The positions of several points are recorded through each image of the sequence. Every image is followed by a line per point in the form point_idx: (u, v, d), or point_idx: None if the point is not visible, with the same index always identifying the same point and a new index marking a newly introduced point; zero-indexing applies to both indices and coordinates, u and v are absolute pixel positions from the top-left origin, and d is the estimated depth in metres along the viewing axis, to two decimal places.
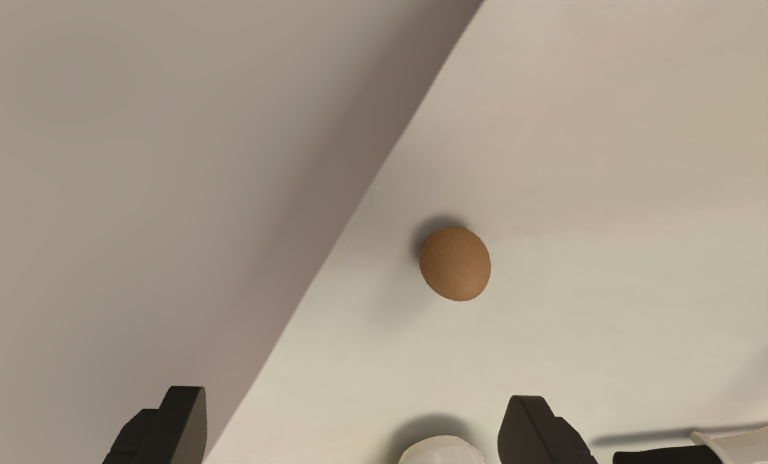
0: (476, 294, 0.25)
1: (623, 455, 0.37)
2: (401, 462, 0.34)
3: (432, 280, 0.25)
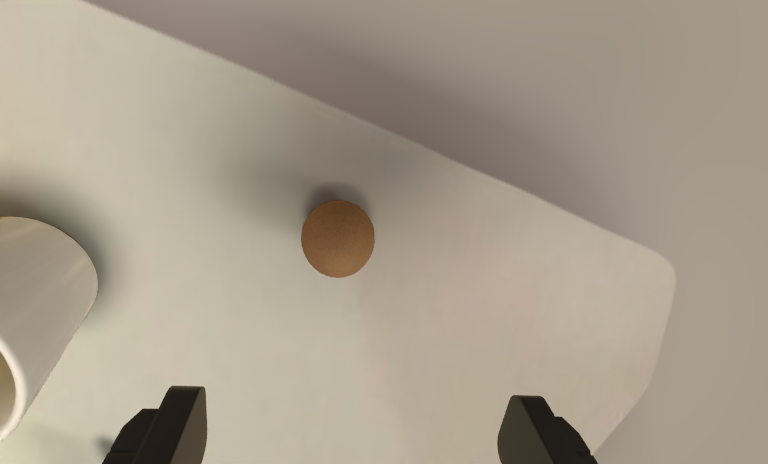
0: (329, 271, 0.23)
1: None
2: (40, 221, 0.25)
3: (327, 221, 0.23)
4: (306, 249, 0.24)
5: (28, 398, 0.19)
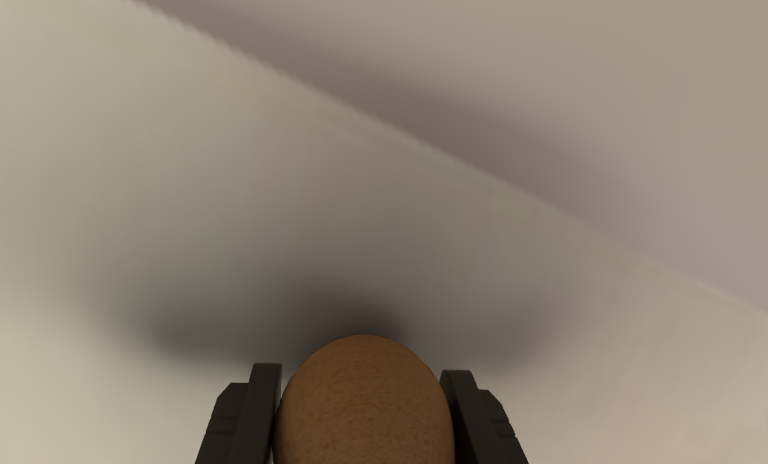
0: None
1: None
2: None
3: (343, 440, 0.08)
4: None
5: None
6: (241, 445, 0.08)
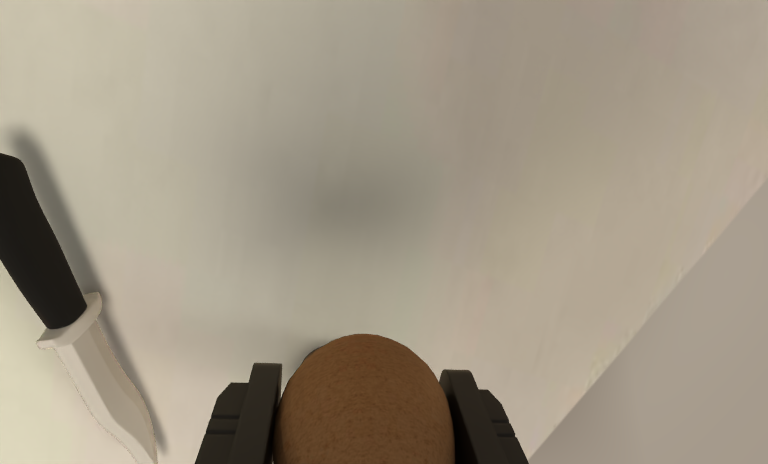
0: None
1: (21, 169, 0.21)
2: None
3: (343, 440, 0.08)
4: None
5: None
6: (241, 445, 0.08)
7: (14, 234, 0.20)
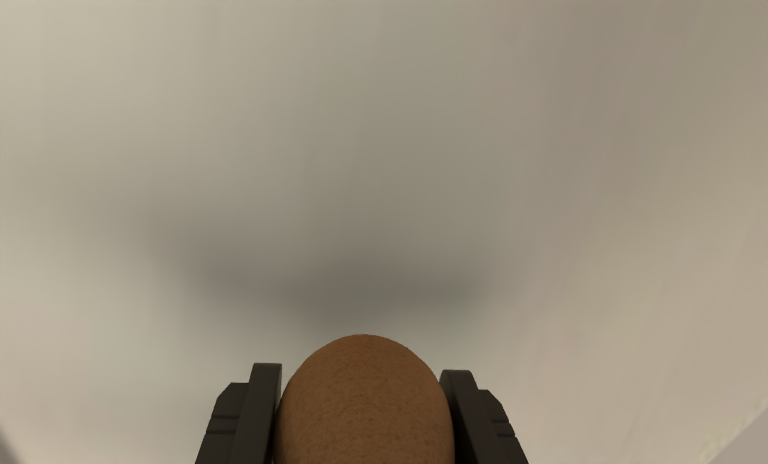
0: None
1: None
2: None
3: (343, 441, 0.08)
4: None
5: None
6: (241, 445, 0.08)
7: None
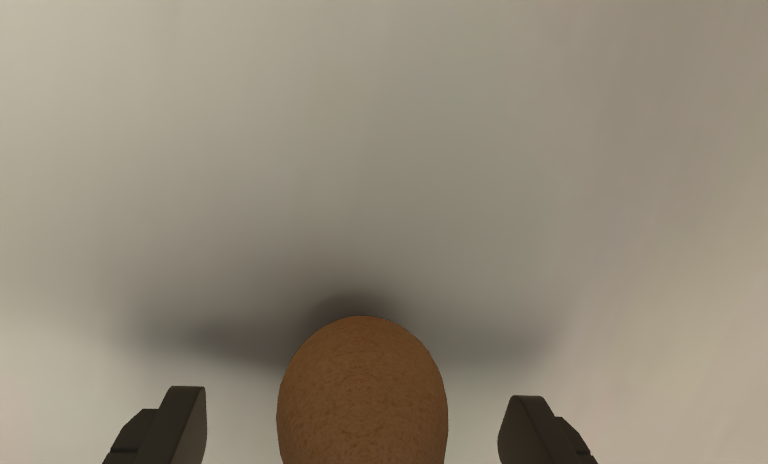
0: None
1: None
2: None
3: (343, 407, 0.09)
4: None
5: None
6: None
7: None
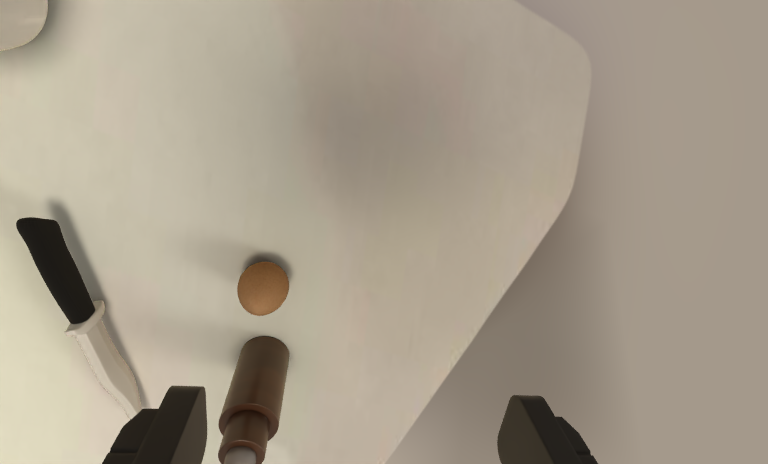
0: (252, 312, 0.35)
1: (57, 227, 0.34)
2: None
3: (252, 279, 0.35)
4: (239, 296, 0.36)
5: None
6: None
7: (53, 267, 0.33)
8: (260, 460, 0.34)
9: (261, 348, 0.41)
